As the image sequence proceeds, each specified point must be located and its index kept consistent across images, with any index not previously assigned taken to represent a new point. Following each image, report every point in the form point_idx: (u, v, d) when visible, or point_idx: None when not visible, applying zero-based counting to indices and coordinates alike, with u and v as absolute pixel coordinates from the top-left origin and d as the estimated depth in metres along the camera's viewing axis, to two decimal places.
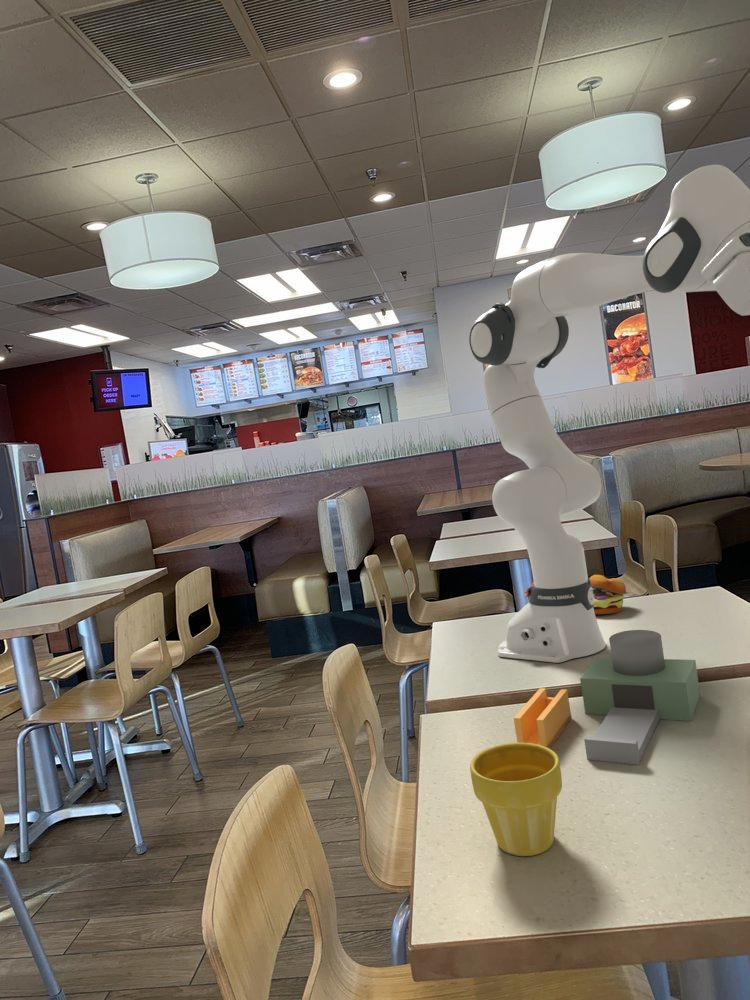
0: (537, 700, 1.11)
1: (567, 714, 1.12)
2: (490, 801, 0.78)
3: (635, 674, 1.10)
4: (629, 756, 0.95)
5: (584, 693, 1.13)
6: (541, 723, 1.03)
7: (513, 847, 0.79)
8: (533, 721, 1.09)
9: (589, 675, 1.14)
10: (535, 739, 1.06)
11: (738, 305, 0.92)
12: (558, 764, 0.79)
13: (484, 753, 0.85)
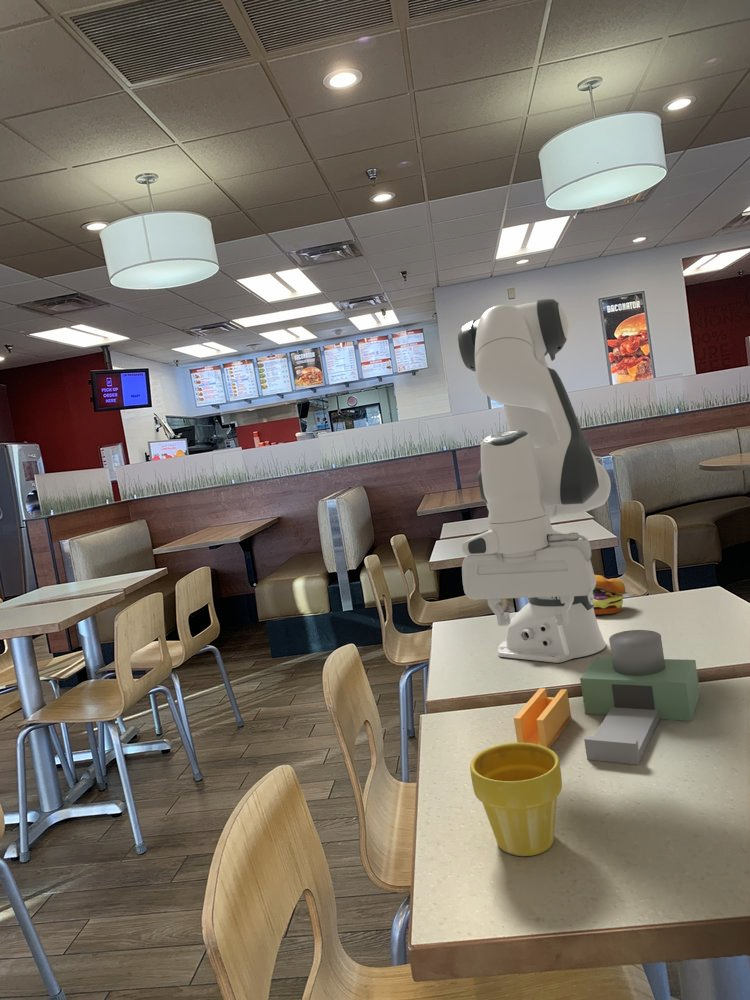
0: (537, 700, 1.11)
1: (567, 714, 1.12)
2: (490, 801, 0.78)
3: (635, 674, 1.10)
4: (629, 756, 0.95)
5: (584, 693, 1.13)
6: (541, 723, 1.03)
7: (513, 847, 0.79)
8: (533, 721, 1.09)
9: (589, 675, 1.14)
10: (535, 739, 1.06)
11: None
12: (558, 764, 0.79)
13: (484, 753, 0.85)
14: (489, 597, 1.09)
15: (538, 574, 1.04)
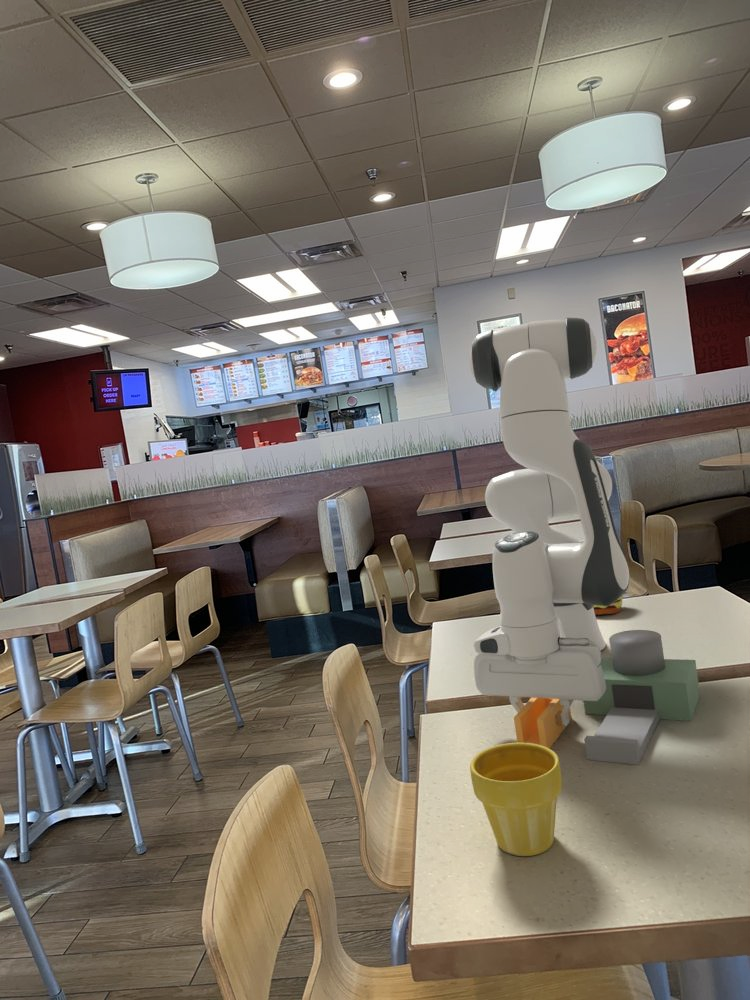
0: (537, 700, 1.11)
1: None
2: (490, 801, 0.78)
3: (635, 674, 1.10)
4: (629, 756, 0.95)
5: None
6: (541, 723, 1.03)
7: (513, 847, 0.79)
8: (533, 721, 1.09)
9: None
10: (535, 739, 1.06)
11: None
12: (558, 764, 0.79)
13: (484, 753, 0.85)
14: (501, 694, 1.11)
15: (549, 677, 1.06)
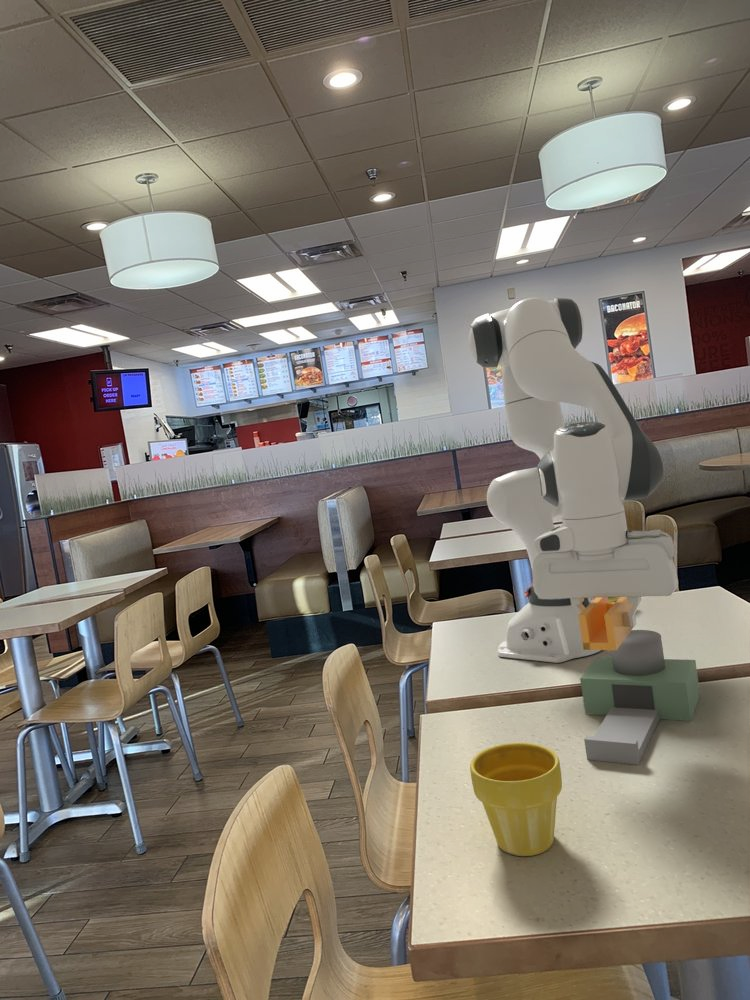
0: (600, 602, 1.04)
1: None
2: (490, 801, 0.78)
3: (635, 674, 1.10)
4: (629, 756, 0.95)
5: (584, 693, 1.13)
6: (610, 618, 0.96)
7: (513, 847, 0.79)
8: (597, 623, 1.02)
9: (589, 675, 1.14)
10: (601, 639, 0.99)
11: None
12: (558, 764, 0.79)
13: (484, 753, 0.85)
14: (561, 596, 1.04)
15: (616, 573, 0.99)
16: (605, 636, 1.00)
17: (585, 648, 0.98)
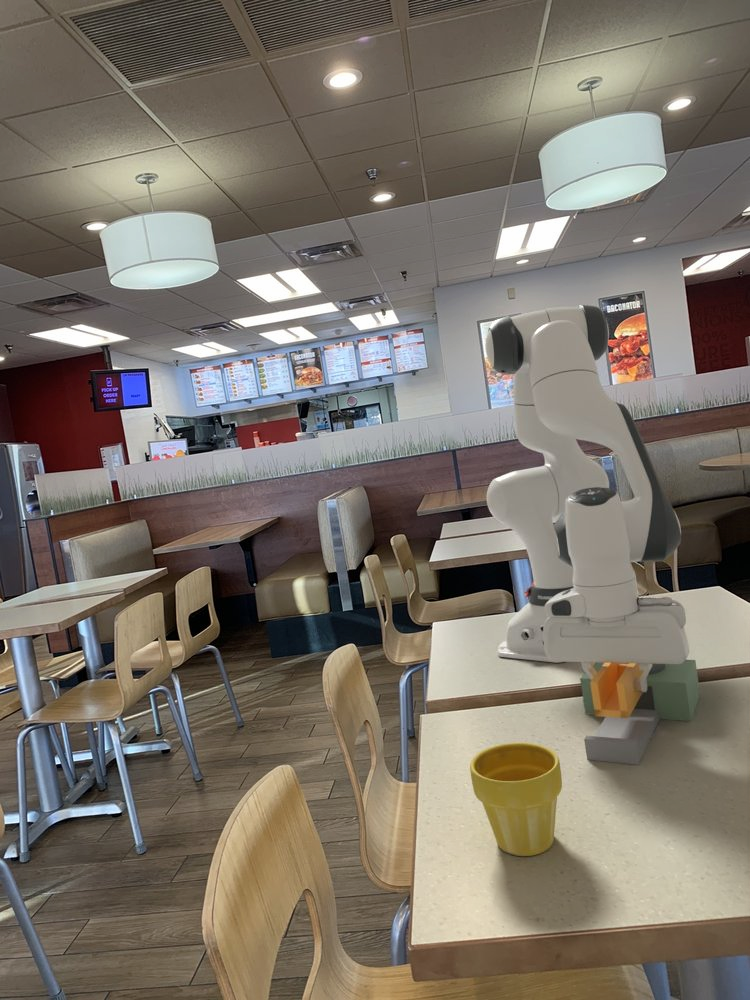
0: (611, 665, 1.05)
1: None
2: (490, 801, 0.78)
3: None
4: (629, 756, 0.95)
5: (584, 693, 1.13)
6: (621, 686, 0.96)
7: (513, 847, 0.79)
8: (608, 687, 1.02)
9: None
10: (613, 705, 0.99)
11: None
12: (558, 764, 0.79)
13: (484, 753, 0.85)
14: (573, 660, 1.04)
15: (628, 639, 0.99)
16: (617, 702, 1.00)
17: (597, 715, 0.99)
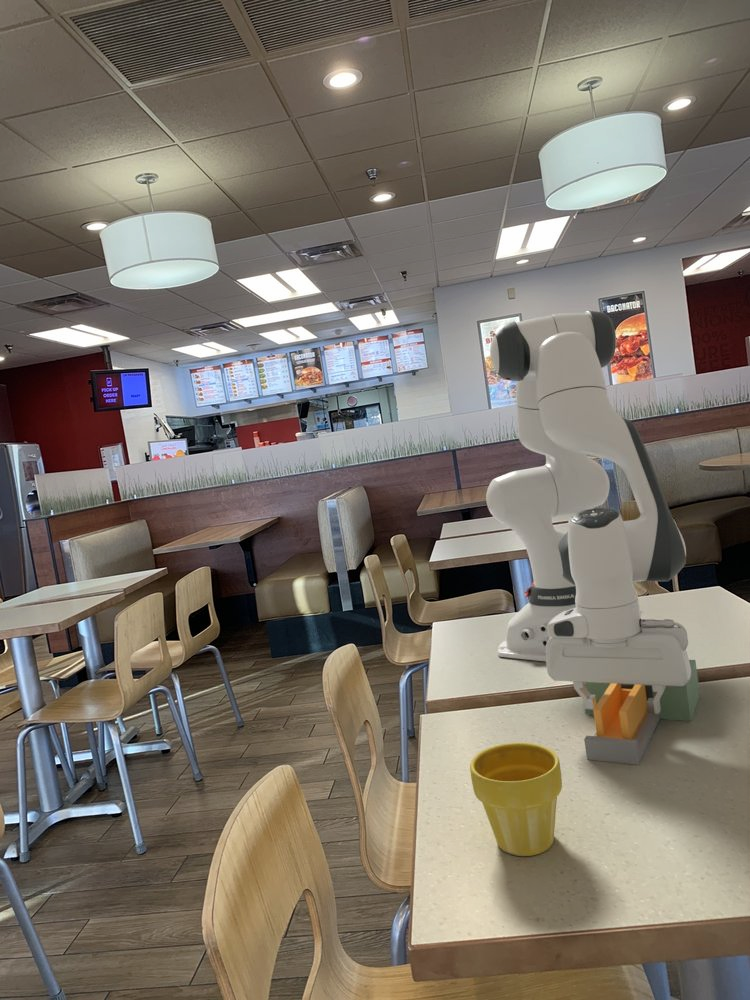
0: (613, 691, 1.05)
1: (645, 706, 1.06)
2: (490, 802, 0.78)
3: None
4: (629, 756, 0.95)
5: None
6: (624, 715, 0.97)
7: (513, 847, 0.79)
8: (611, 714, 1.03)
9: None
10: (616, 732, 1.00)
11: None
12: (558, 764, 0.79)
13: (484, 753, 0.85)
14: (575, 680, 1.05)
15: (630, 661, 1.00)
16: (619, 729, 1.01)
17: None
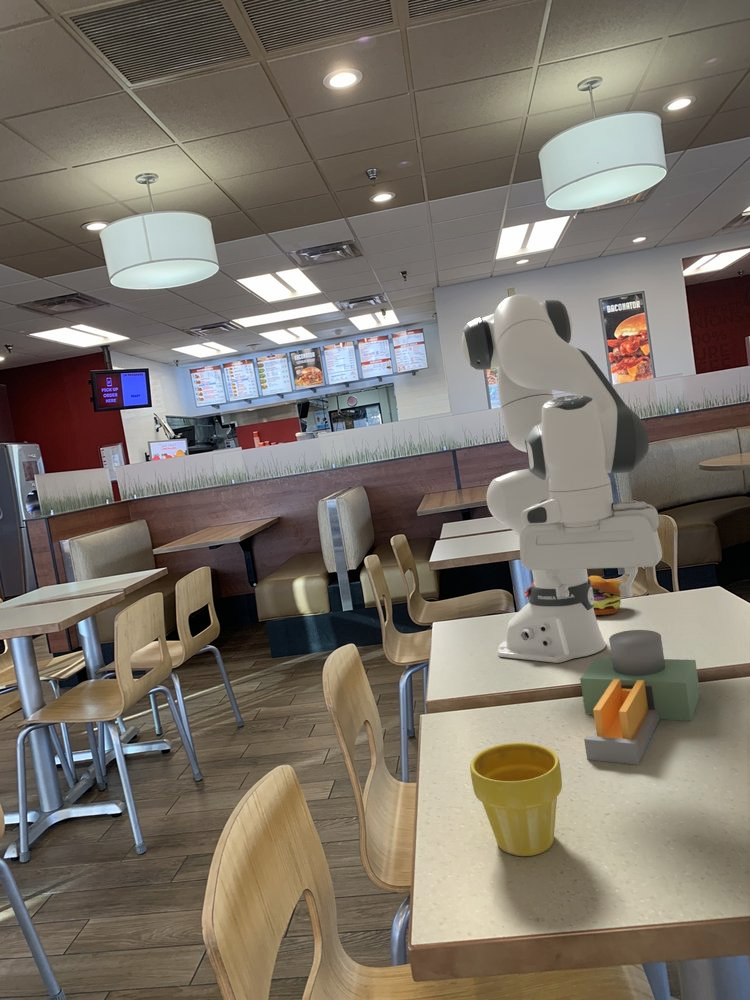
0: (613, 691, 1.05)
1: (645, 706, 1.06)
2: (490, 801, 0.78)
3: (635, 674, 1.10)
4: (629, 756, 0.95)
5: (584, 693, 1.13)
6: (624, 715, 0.97)
7: (513, 847, 0.79)
8: (611, 714, 1.03)
9: (589, 675, 1.14)
10: (616, 732, 1.00)
11: None
12: (558, 764, 0.79)
13: (484, 753, 0.85)
14: (548, 568, 1.05)
15: (602, 544, 1.00)
16: (619, 729, 1.01)
17: None
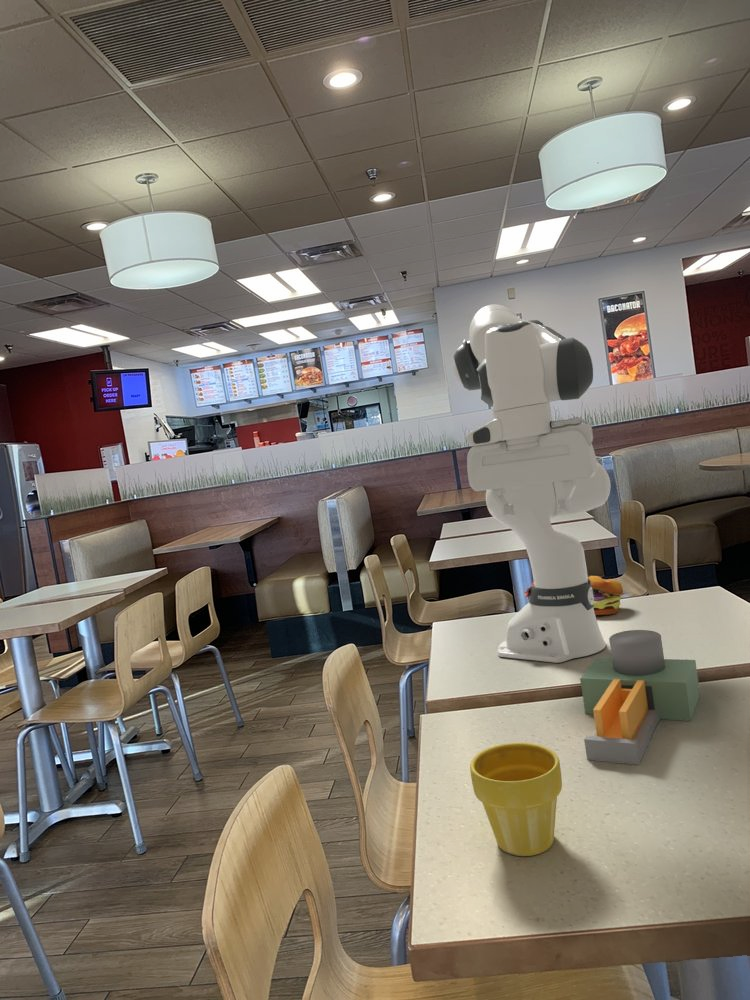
0: (613, 691, 1.05)
1: (645, 706, 1.06)
2: (490, 801, 0.78)
3: (635, 674, 1.10)
4: (629, 756, 0.95)
5: (584, 693, 1.13)
6: (624, 715, 0.97)
7: (513, 847, 0.79)
8: (611, 714, 1.03)
9: (589, 675, 1.14)
10: (616, 732, 1.00)
11: None
12: (558, 764, 0.79)
13: (484, 753, 0.85)
14: (493, 487, 1.11)
15: (541, 460, 1.06)
16: (619, 729, 1.01)
17: None
